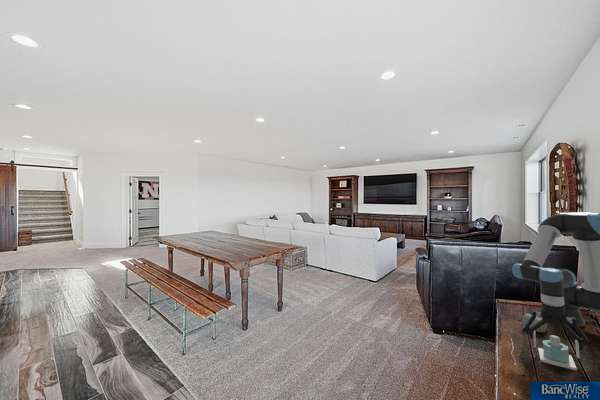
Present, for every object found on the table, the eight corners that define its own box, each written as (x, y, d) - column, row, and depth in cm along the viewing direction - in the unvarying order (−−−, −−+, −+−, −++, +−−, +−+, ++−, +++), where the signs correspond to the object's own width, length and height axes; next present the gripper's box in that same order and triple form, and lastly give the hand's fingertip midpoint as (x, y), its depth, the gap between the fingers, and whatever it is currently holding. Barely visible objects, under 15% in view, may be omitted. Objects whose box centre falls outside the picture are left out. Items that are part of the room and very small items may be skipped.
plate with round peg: (538, 349, 122) (536, 328, 122) (571, 357, 115) (569, 335, 115) (540, 361, 113) (539, 338, 113) (576, 370, 106) (575, 346, 106)
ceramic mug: (540, 334, 134) (539, 320, 134) (522, 328, 142) (521, 314, 142) (551, 330, 138) (551, 316, 138) (533, 324, 146) (532, 311, 146)
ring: (555, 350, 118) (554, 339, 118) (574, 361, 110) (573, 349, 110) (538, 351, 118) (537, 340, 118) (556, 362, 110) (556, 350, 110)
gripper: (516, 300, 120) (518, 345, 120) (596, 313, 103) (599, 366, 103) (516, 295, 125) (519, 338, 125) (593, 307, 109) (596, 357, 108)
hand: (555, 351), depth 114 cm, fingers open, 13 cm apart
